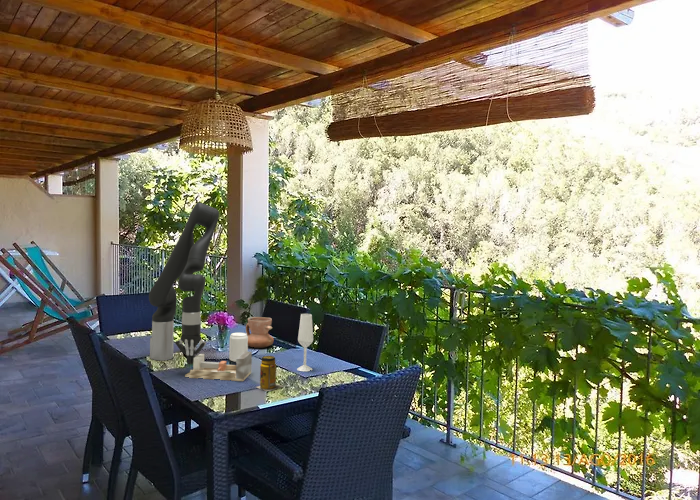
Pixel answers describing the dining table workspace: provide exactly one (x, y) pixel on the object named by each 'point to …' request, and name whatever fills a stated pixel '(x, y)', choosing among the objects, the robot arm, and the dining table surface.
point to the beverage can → (237, 345)
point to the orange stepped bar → (222, 366)
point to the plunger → (203, 363)
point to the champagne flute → (305, 337)
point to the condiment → (268, 374)
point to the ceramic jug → (259, 332)
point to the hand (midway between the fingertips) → (190, 363)
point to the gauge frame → (227, 370)
